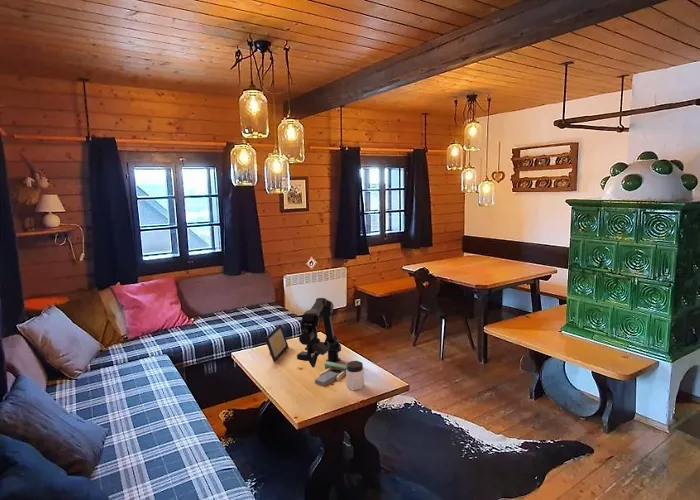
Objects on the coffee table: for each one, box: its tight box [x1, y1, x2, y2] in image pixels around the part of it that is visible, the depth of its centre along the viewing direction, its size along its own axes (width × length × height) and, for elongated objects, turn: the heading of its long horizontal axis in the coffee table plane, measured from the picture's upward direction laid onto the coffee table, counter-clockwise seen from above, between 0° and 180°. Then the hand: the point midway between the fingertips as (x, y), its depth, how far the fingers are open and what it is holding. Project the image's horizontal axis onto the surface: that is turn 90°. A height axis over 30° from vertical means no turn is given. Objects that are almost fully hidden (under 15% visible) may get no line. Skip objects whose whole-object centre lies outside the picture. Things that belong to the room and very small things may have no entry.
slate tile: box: [314, 371, 339, 387], centre depth 228 cm, size 12×6×2 cm, turn 142°
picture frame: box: [264, 324, 289, 363], centre depth 265 cm, size 23×9×15 cm, turn 168°
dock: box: [319, 361, 347, 382], centre depth 235 cm, size 12×16×4 cm
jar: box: [345, 360, 365, 391], centre depth 219 cm, size 9×8×12 cm
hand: (313, 367), depth 217 cm, fingers closed
